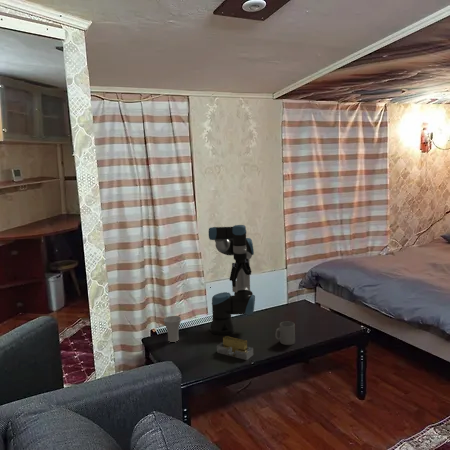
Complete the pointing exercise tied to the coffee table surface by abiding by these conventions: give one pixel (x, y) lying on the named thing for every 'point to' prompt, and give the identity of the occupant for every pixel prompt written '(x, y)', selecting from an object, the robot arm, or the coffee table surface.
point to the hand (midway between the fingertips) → (241, 288)
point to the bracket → (237, 353)
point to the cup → (172, 327)
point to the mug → (286, 333)
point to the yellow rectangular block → (235, 343)
